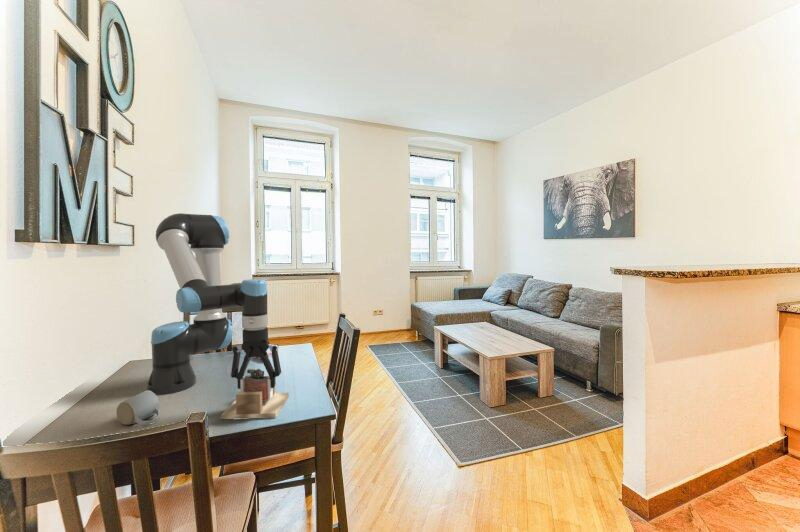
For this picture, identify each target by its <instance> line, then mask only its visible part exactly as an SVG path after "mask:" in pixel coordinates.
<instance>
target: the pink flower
mask: <svg viewBox="0 0 800 532" xmlns="http://www.w3.org/2000/svg"><path fill="white" fill-rule="evenodd" d="M266 352H267V354H268V358H272V352H268V351H266ZM250 359H252V360H255V359H258V360H260V361H262V360H261V359H260V357H251V358H250Z"/></svg>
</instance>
